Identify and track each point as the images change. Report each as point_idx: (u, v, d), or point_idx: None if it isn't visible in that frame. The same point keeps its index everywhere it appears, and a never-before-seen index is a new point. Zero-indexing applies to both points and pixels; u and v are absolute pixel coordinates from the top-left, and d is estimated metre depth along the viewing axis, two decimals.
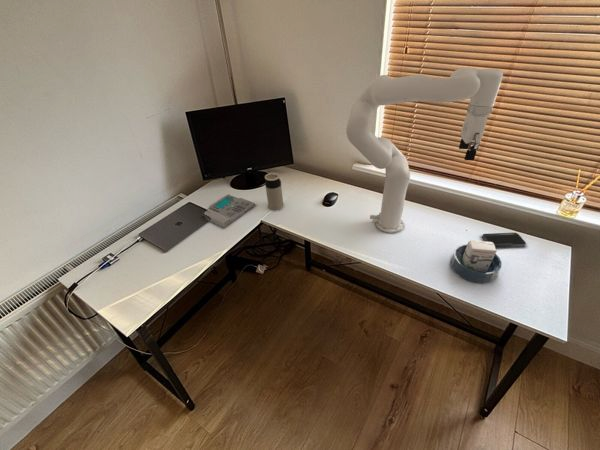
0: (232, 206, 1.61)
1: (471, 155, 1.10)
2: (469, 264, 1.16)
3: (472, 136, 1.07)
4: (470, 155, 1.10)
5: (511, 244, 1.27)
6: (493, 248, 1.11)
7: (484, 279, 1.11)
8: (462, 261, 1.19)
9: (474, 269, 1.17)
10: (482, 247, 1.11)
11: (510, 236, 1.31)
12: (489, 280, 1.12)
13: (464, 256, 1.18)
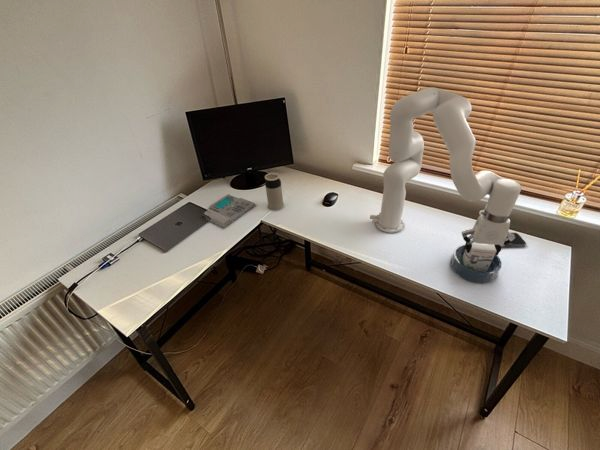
0: (232, 206, 1.61)
1: None
2: (469, 264, 1.16)
3: None
4: None
5: (511, 244, 1.27)
6: (493, 248, 1.11)
7: (484, 279, 1.11)
8: (462, 261, 1.19)
9: (474, 269, 1.17)
10: (482, 247, 1.11)
11: None
12: (489, 280, 1.12)
13: (464, 256, 1.18)
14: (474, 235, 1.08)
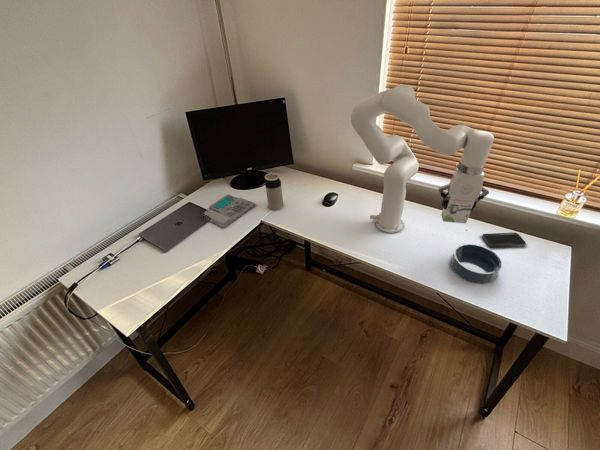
0: (232, 206, 1.61)
1: None
2: (449, 215, 1.16)
3: None
4: None
5: (511, 244, 1.27)
6: None
7: (484, 279, 1.11)
8: (442, 213, 1.20)
9: (454, 220, 1.17)
10: None
11: (510, 236, 1.30)
12: (489, 280, 1.12)
13: None
14: (450, 189, 1.10)
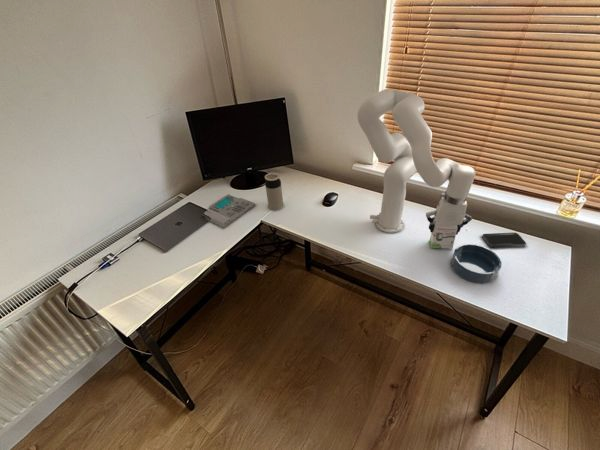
0: (232, 206, 1.61)
1: None
2: (436, 242, 1.27)
3: None
4: None
5: (511, 244, 1.27)
6: (454, 225, 1.22)
7: (484, 279, 1.11)
8: (430, 240, 1.31)
9: (441, 246, 1.28)
10: (444, 225, 1.22)
11: (510, 236, 1.30)
12: (489, 280, 1.12)
13: (431, 235, 1.29)
14: (436, 216, 1.20)
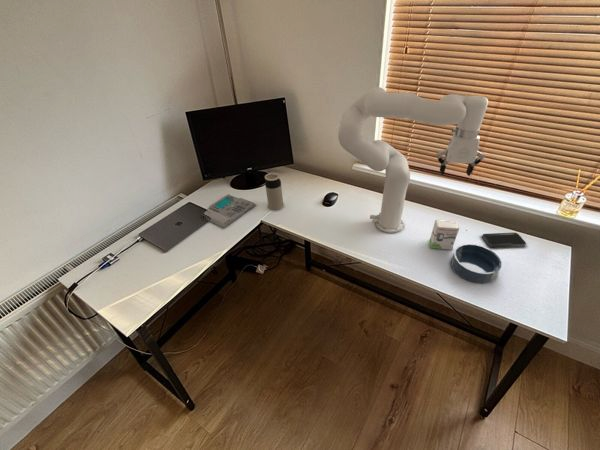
0: (232, 206, 1.61)
1: None
2: (436, 242, 1.27)
3: None
4: None
5: (511, 244, 1.27)
6: (456, 226, 1.22)
7: (484, 279, 1.11)
8: (430, 240, 1.31)
9: (441, 246, 1.28)
10: (446, 225, 1.22)
11: (510, 236, 1.30)
12: (489, 280, 1.12)
13: (432, 235, 1.29)
14: (447, 154, 1.16)
